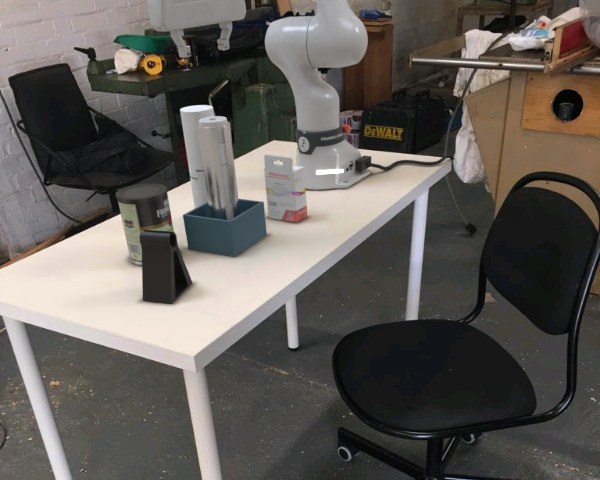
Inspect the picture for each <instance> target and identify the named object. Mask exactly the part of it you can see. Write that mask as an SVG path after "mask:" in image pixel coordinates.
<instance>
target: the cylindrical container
mask: <svg viewBox="0 0 600 480" xmlns="http://www.w3.org/2000/svg"><path fill="white" fill-rule="evenodd" d="M179 113H180V119H181V127H182V132H183V139H184V145H185V152H186V160H187V165H188V172H189V180H190V185H191V193H192V198H193V205H194V209H195V208H197V207H199V206H200V205H202V204H204V203H206V202H208V197H207V190H206V183H205V176H204V168H203V161H202V154H201V147H200V140H199V133H198V125H199V120H200V119H202V118H206V117H213V116H215V114H214V107H213V106H212V105H210V104H209V105H208V104H196V105H188V106H184V107H181V108H180V109H179Z"/></svg>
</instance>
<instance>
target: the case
mask: <svg viewBox="0 0 600 480" xmlns="http://www.w3.org/2000/svg"><path fill="white" fill-rule="evenodd" d="M238 200H239V209H240V215H238V216H237V217H235V218H233V219H232V220H230V221H229V220H222V219H215V218H210V211H209V204H208V202H206V203H204V204H202V205H200V206H199V207H197V208H195V207H194V208H193V209H191V210H189V211H187V212H186V213H184V214H182V218H183V226H184V232H185V237H186V238H185V239H186V244H187V249H188V250H193V251H197V252H198V251H199V252H204V253H209V254H217V255H221V256H227V257H233V258H235V257H237V256H239V255H240V254H241V253H243V252H244V251H246V250H247V249H248V248H250V247H252V246H253V245H255V244H256V243H257V242H259V241H260V240H262V239H263V238H265V237H266V236H267V234H268V233H267V221H266V213H265V212H266V211H265V210H266V209H265V201H262V200H253V199H245V198H238Z"/></svg>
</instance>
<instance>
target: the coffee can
mask: <svg viewBox="0 0 600 480" xmlns="http://www.w3.org/2000/svg"><path fill="white" fill-rule="evenodd" d="M115 198H116V200H117V203H118V204H117V205H118V208H119V213H120V217H121V222H122V226H123V227H122V228H123V231H124V236H125V241H126V244H127V250H128V254H129V259H130V262H131V263H132V264H135V265H138V266H142V248H141V244H140V233H141V232H145V231H144V230H155V231H170V232H175V230H174V229H175V228H174V224H173V218H172V212H171V205H170V200H169V195H168V187H167V186H166V185H165V184H162V183H161V184H160V183H152V182H151V183H150V182H149V183H139V184H138V183H137V184H132V185H129V186H128V185H127V186H125V187H123V188H120V189H119V190H118V191H117V192H115Z"/></svg>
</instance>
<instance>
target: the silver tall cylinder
mask: <svg viewBox="0 0 600 480" xmlns="http://www.w3.org/2000/svg"><path fill="white" fill-rule="evenodd" d="M198 133H199V140H200V147H201V154H202V161H203V168H204V176H205V183H206V190H207V197H208V204H209V211H210V218H215V219H222V220H229V221H230V220H232V219H233V218H235V217H237V216H238V215H240V209H239V200H238V199H239V193H238V183H237V174H236V173H237V172H236V166H235V165H236V164H235V156H234V149H233V147H234V146H233V138H232V129H231V122H230V121H228V119H227V117H225V116H221V115H214V116H213V117H206V118H202V119H200V120H199V125H198Z"/></svg>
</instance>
